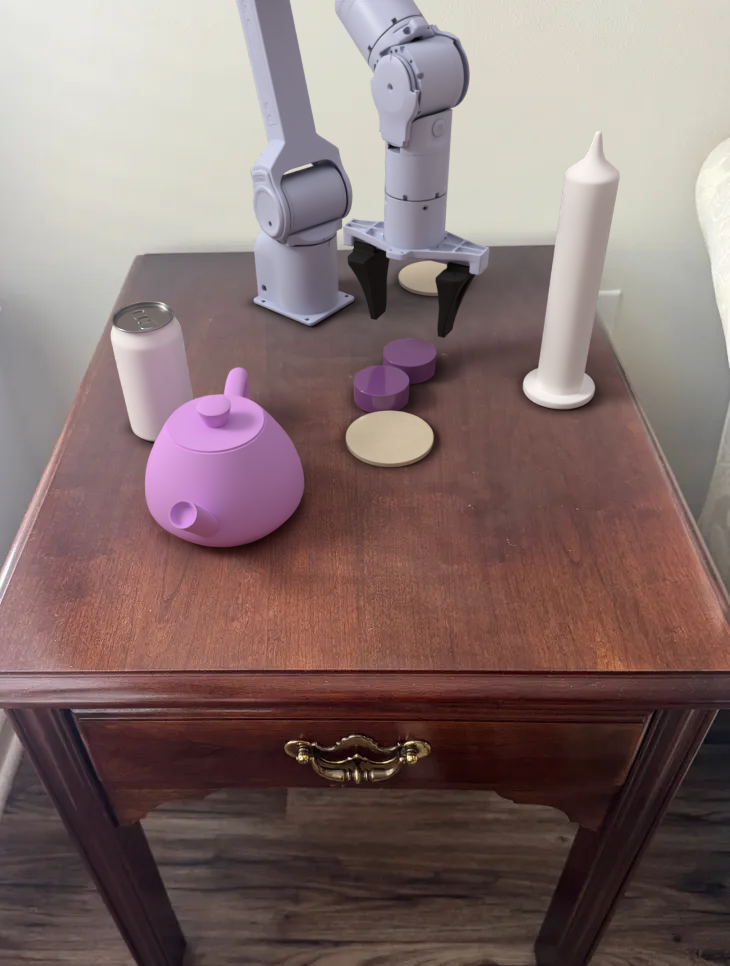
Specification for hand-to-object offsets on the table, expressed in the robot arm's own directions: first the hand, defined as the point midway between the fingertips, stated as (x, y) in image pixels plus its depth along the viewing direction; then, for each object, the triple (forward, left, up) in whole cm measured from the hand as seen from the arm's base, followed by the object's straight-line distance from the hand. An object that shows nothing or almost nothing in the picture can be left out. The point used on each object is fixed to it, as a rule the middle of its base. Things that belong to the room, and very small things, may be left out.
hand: (411, 323), depth 87 cm
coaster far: (-10, +18, -6) cm, 21 cm away
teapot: (+1, -28, -6) cm, 29 cm away
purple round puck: (0, 0, -6) cm, 6 cm away
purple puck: (+1, -6, -6) cm, 8 cm away
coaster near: (+6, -11, -6) cm, 14 cm away
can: (-13, -23, -6) cm, 27 cm away
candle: (+14, +6, -6) cm, 17 cm away
